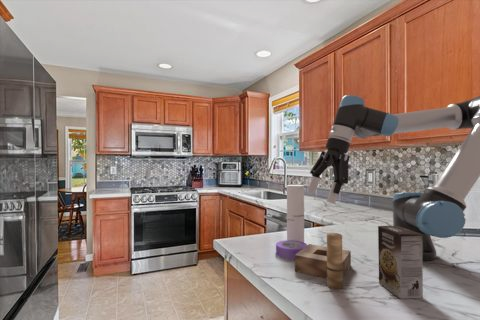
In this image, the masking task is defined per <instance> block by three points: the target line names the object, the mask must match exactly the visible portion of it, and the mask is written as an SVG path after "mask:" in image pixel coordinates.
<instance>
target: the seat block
mask: <svg viewBox="0 0 480 320" xmlns="http://www.w3.org/2000/svg"><path fill="white" fill-rule="evenodd" d="M351 254H352V253H351V250H347V249H342V267H343V280H344V279H345V277H346V275H347V273H348V272H349V270H350V268H351V266H352V261H351V259H352V256H351ZM294 271H295V272H298V273H302V274H306V275H311V276H316V277H320V278H323V279H327V246H322V245H319V244H318V245H316V244H310V243H309V244H308V243H307V246H306V247H305V248H303V249H302V250H301V251H299V252H298V253H297V254H295V259H294Z"/></svg>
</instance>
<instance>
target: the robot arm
mask: <svg viewBox="0 0 480 320" xmlns="http://www.w3.org/2000/svg"><path fill="white" fill-rule="evenodd" d="M446 128H448V129H449V130H453V131H455V130H464V129H465V130H466V129H469V130H470V131H469V133H468V134H467V136H466V137H465V139H464V140H463V142H462V143H461V144H460V146H459V148H458V149H457V151H456V152H455V154H454V156H453V157H452V158H451V159H450V160H449V163H447V165H446V168H445V169H444V170H443V171H442V173H441V174H440V176H439V178H438V180H437V181H436V182H435V184H434V185H433V186H429V187H428V186H427V187H425V189H424V190H423V192H413V191H411V192H396V193H393V196H392V222H393V223H392V226H400V227H403V228H406V229H409V230H412V231H415V232H418V233H421V234H422V259H423V261H433V260H436V259H437V249H436V247H435V244H434V242H433V240H432V237H434V238H437V239H438V238H439V239H446V238H447V239H448V238H451V237H454V236H456V235H458V234H459V233H461V232H462V230H463V229H464V227H465V225H466V221H467V220H466V218H465V210H466V209H467V203H466V202H465V199H466V197H467V196H468V195H469V193H470V191H471V190H472V189H473V187H474V186H475V184H476V182H477V181H478V179H479V178H480V95H478V96H476V97H474V98H471V99H468V100H464V101H462V102H457V103H451V104H448V105H447V106H446V107H441V108H434V109H433V108H431V109H424V110H416V111H409V112H402V113H393V114H392V113H389V112H386V111H382V110H378V109H375V108H371V107H368V106H367V105H365V99H364V98H363V97H360V96H358V95H355V94H353V95H352V94H348V95H344V96H343V97H342V98H341V100H340V103H339V105H338V108H337V111H336V114H335V118H334V120H333V124H332V126H331V129H330V133H329V137H328V138H327V140H326V143H325V149H327V151H321V152H320V155H319V157H318V159H317V160H316V162H315V163H314V165H313V167H312V168H311V170H310V171H309V173H310V174H311V180H310V183H309V185H308V188H307V191H306V192H307V194H309V195H313V196H315V194H316V191H317V188H318V185H319V182H320V179H321V176H322V174H323V173H324V172H325V171H326V170H327V169H328V167H332V171H333V176H334V180H332V184H331V188H330V190H329V192H328V193H329V194H328V196H327V199H326V202H328V203H330V204H334V205H336V202H337V199H338V196H339V194H340V192H341V189H342V186H344V185H345V184H346V185H348V183H349V162H350V158H351V157H350V155H349V154H348V152H349V149H350V145H351V144H350V143H351V142H352V141H353V137H355V138H358V139H366V138H370V137H378V136H381V137H382V136H383V137H391V136H392V135H395V134H396V135H397V134H404V133H411V132H413V133H414V132H421V131H429V130H431V131H432V130H438V129H446Z"/></svg>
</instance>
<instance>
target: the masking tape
mask: <svg viewBox="0 0 480 320" xmlns="http://www.w3.org/2000/svg"><path fill="white" fill-rule="evenodd" d="M307 245H308V243H306V242H305V241H304V242H300V241H294V240H287V239H286V240H280V241H278V242H276V243H275V254H276V255H277V256H278V257H280V258H282V259H285V260H295V254H297V253H298V252H299V251H301V250H302V249H303V248H305V247H306V246H307Z"/></svg>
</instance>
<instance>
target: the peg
mask: <svg viewBox="0 0 480 320" xmlns="http://www.w3.org/2000/svg"><path fill="white" fill-rule="evenodd" d="M326 247H327V278H326V286H327V287H328V288H329V289H331V290H337V291H339V290H342V289H344V288H343V287H344V284H343V281H344V279H343V267H342V250H343V235H342V234H341V233H338V232H337V233H336V232H327V233H326Z"/></svg>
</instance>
